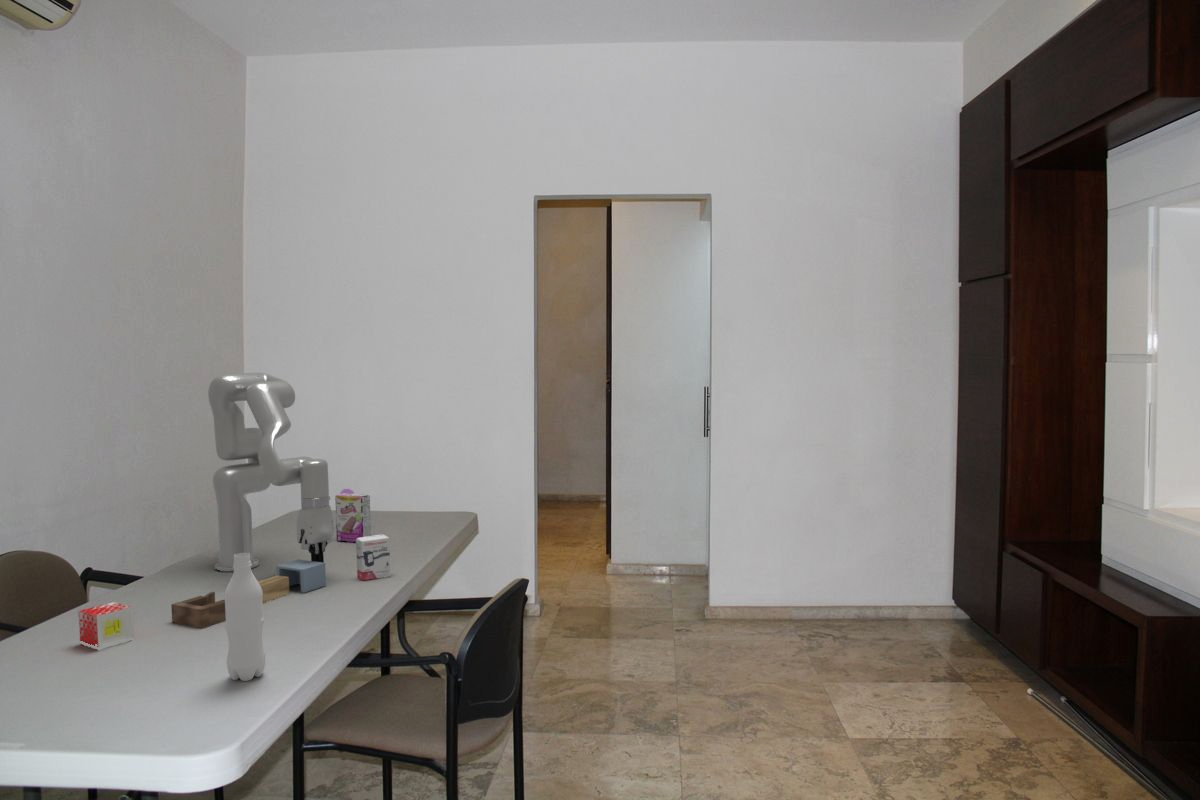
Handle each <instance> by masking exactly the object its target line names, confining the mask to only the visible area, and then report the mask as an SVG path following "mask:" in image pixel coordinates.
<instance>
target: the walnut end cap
mask: <svg viewBox="0 0 1200 800" xmlns="http://www.w3.org/2000/svg"><path fill="white" fill-rule="evenodd" d="M170 606H171V622H172V623H173V622H175V623H174V624H178V623H179V625H185V626H188V625H189V626H188V627H193V626H195V628H198V627H200V628H199V629H205V628H207V626H208V627H211V626H213V625H216V624H219V623H222V622H226V613H225V600H224V599H221V600H219V601H216V592H215V591H210V592H208V593H207V594H205V595H204V596H202V595H197V596H195V597H191V598H188V599H185V600H182V601H181V600H180V601H178V602H175V603H171V605H170ZM218 622H219V623H218ZM215 623H216V624H215ZM204 627H205V628H204Z"/></svg>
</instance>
